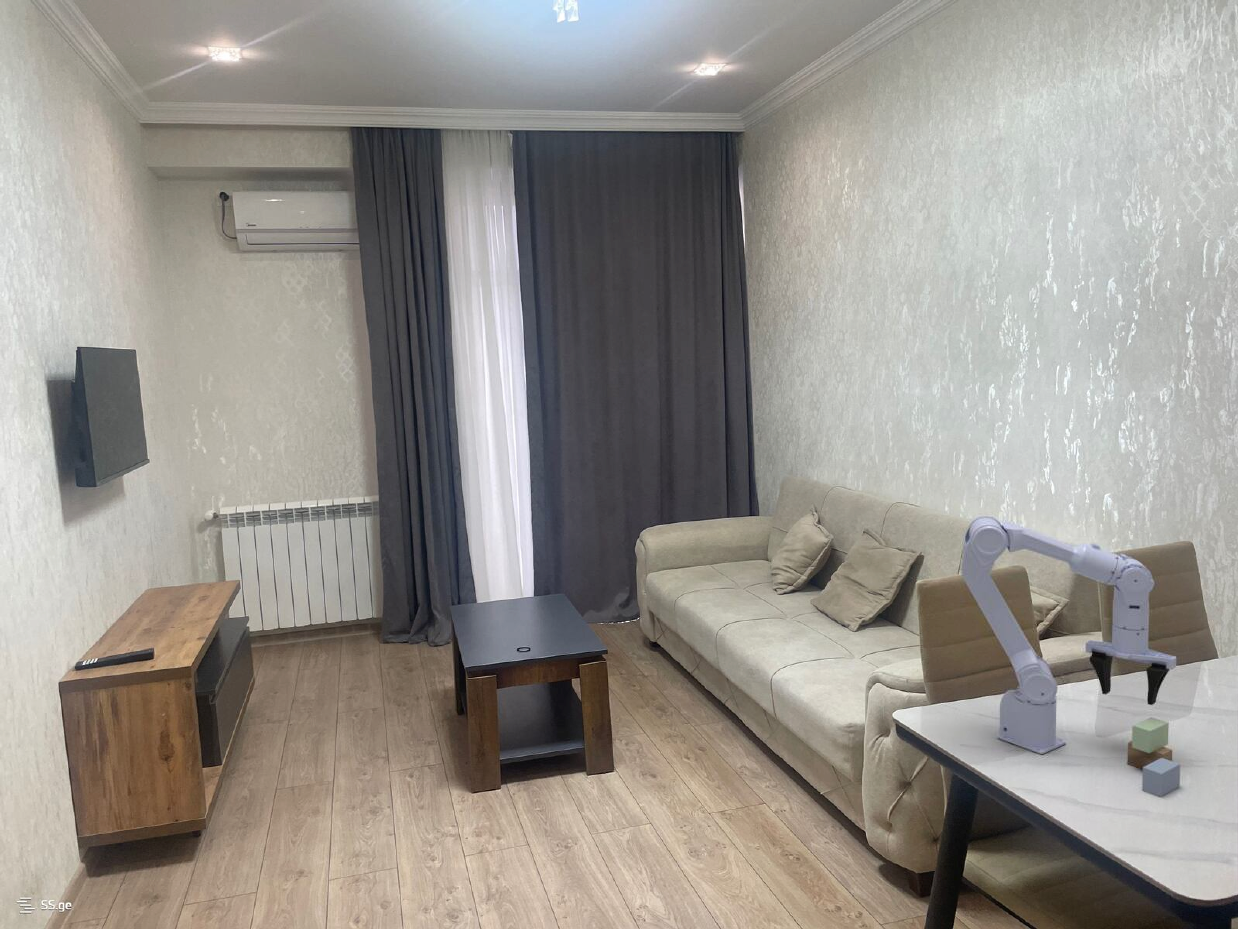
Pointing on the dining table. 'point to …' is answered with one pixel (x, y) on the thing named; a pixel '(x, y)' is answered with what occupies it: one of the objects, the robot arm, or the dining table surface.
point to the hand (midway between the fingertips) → (1128, 697)
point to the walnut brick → (1146, 756)
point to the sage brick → (1150, 735)
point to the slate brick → (1161, 777)
